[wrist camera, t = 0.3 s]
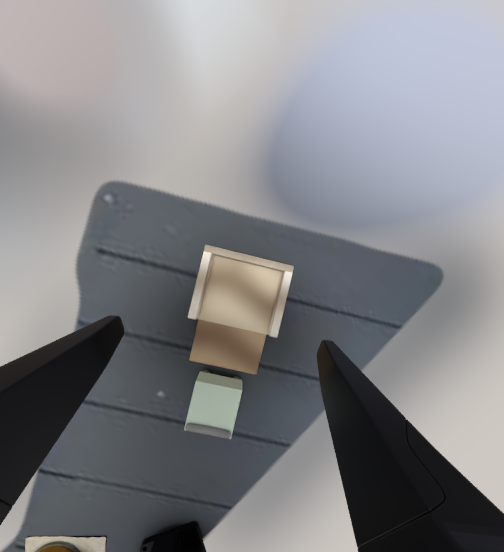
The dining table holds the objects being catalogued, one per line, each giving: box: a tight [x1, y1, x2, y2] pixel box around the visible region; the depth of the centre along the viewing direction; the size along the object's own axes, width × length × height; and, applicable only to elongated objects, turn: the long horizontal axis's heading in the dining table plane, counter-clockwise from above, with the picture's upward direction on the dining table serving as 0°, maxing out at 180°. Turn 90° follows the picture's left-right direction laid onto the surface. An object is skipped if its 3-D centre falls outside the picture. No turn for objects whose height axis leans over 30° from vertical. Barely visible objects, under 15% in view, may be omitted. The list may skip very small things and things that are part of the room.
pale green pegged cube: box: [184, 370, 242, 439], centre depth 21 cm, size 5×5×4 cm
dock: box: [188, 245, 294, 375], centre depth 22 cm, size 13×10×3 cm
